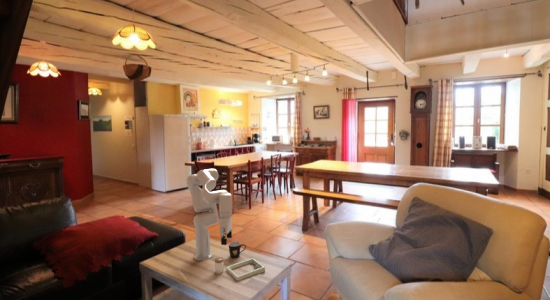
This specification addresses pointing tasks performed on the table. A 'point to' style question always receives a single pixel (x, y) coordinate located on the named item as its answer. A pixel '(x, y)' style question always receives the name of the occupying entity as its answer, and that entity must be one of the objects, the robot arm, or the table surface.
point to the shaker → (219, 265)
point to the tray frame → (249, 261)
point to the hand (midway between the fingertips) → (226, 241)
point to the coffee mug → (235, 249)
